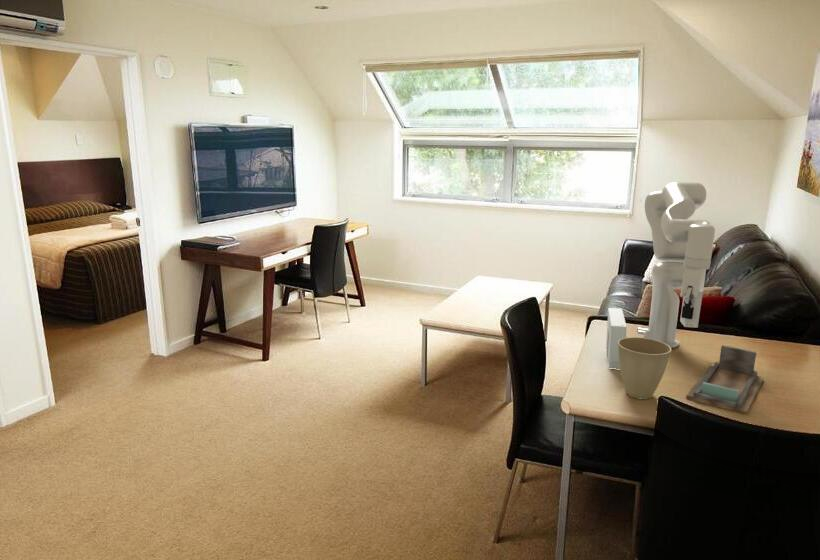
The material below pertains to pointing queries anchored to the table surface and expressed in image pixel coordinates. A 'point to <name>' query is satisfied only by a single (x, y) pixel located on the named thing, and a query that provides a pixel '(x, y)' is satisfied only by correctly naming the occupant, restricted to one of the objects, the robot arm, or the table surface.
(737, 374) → the tray
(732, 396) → the pusher
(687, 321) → the skincare box
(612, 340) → the skincare box
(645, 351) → the plant pot
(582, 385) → the table surface
